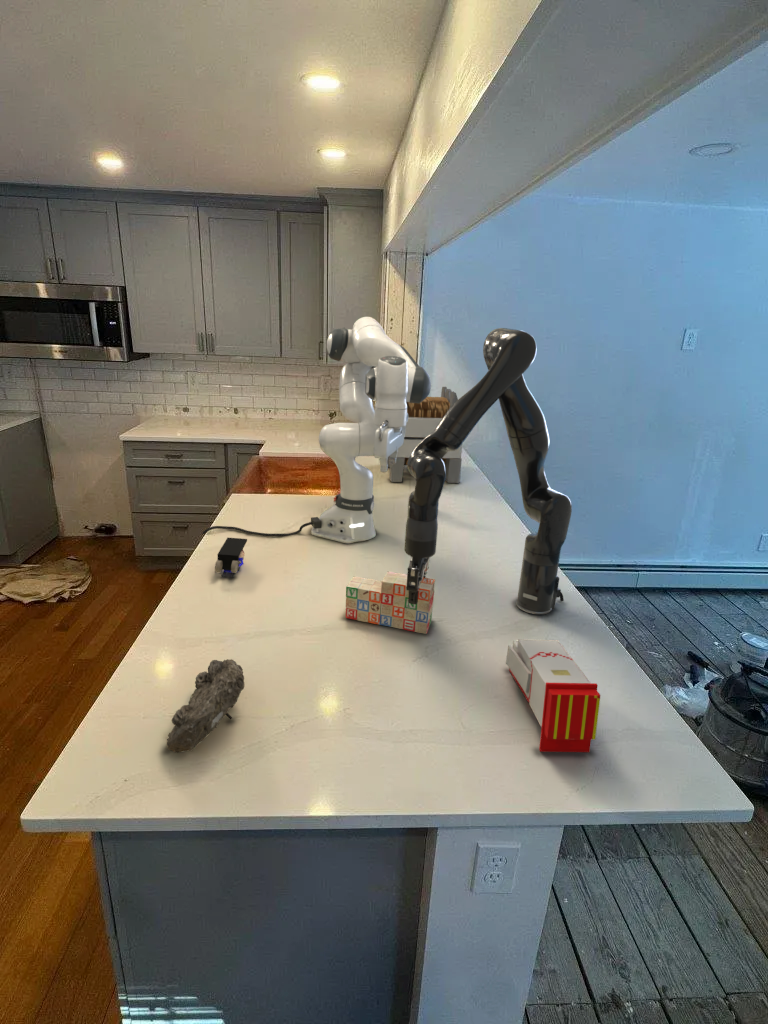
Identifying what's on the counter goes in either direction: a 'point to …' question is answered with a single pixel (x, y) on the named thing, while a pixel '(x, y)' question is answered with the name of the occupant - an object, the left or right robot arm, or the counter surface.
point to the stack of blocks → (390, 602)
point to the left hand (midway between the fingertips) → (388, 467)
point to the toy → (556, 694)
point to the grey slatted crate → (426, 434)
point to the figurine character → (230, 556)
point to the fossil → (206, 705)
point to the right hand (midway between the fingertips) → (416, 595)
